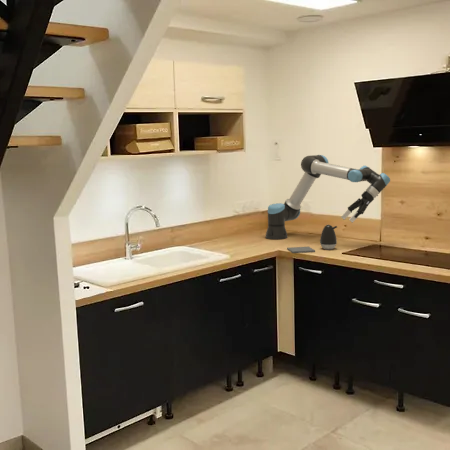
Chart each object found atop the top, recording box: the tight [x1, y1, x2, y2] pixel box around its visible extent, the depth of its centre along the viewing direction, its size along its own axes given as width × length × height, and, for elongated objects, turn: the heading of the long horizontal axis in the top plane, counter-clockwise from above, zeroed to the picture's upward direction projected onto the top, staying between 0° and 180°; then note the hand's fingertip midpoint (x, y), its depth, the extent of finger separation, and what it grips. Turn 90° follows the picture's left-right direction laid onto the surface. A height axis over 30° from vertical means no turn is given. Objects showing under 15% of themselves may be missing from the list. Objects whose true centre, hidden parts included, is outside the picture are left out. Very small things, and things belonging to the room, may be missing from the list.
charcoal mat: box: [286, 246, 316, 254], centre depth 356 cm, size 13×14×1 cm
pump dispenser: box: [319, 224, 338, 251], centre depth 358 cm, size 10×10×15 cm
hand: (346, 219), depth 358 cm, fingers open, 13 cm apart
